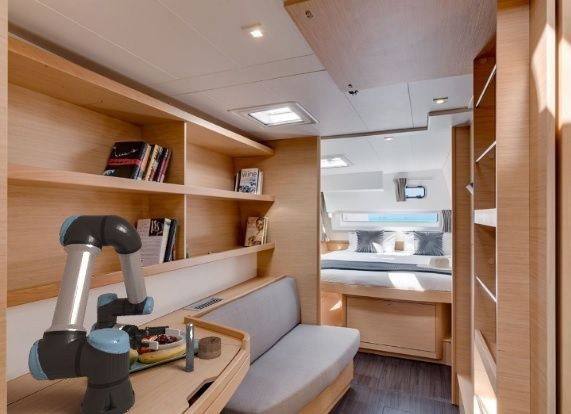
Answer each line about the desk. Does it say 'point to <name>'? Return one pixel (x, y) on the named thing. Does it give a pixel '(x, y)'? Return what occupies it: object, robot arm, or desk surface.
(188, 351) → the round-tipped metal rod
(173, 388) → the desk surface
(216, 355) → the bead
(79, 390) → the desk surface
